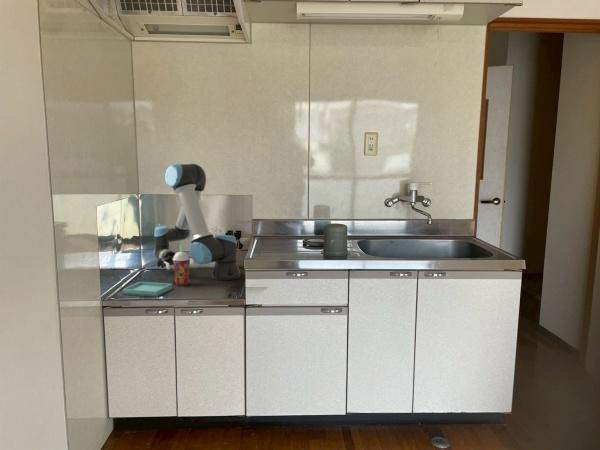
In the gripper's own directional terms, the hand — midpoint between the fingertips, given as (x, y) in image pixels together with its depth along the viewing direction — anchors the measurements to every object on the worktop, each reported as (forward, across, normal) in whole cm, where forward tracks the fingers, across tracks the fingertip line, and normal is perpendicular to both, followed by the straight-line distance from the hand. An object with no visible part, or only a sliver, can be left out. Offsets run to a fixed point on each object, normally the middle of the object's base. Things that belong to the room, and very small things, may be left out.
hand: (182, 264), depth 230 cm
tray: (0, +18, -11) cm, 21 cm away
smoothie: (-2, 0, -11) cm, 11 cm away
